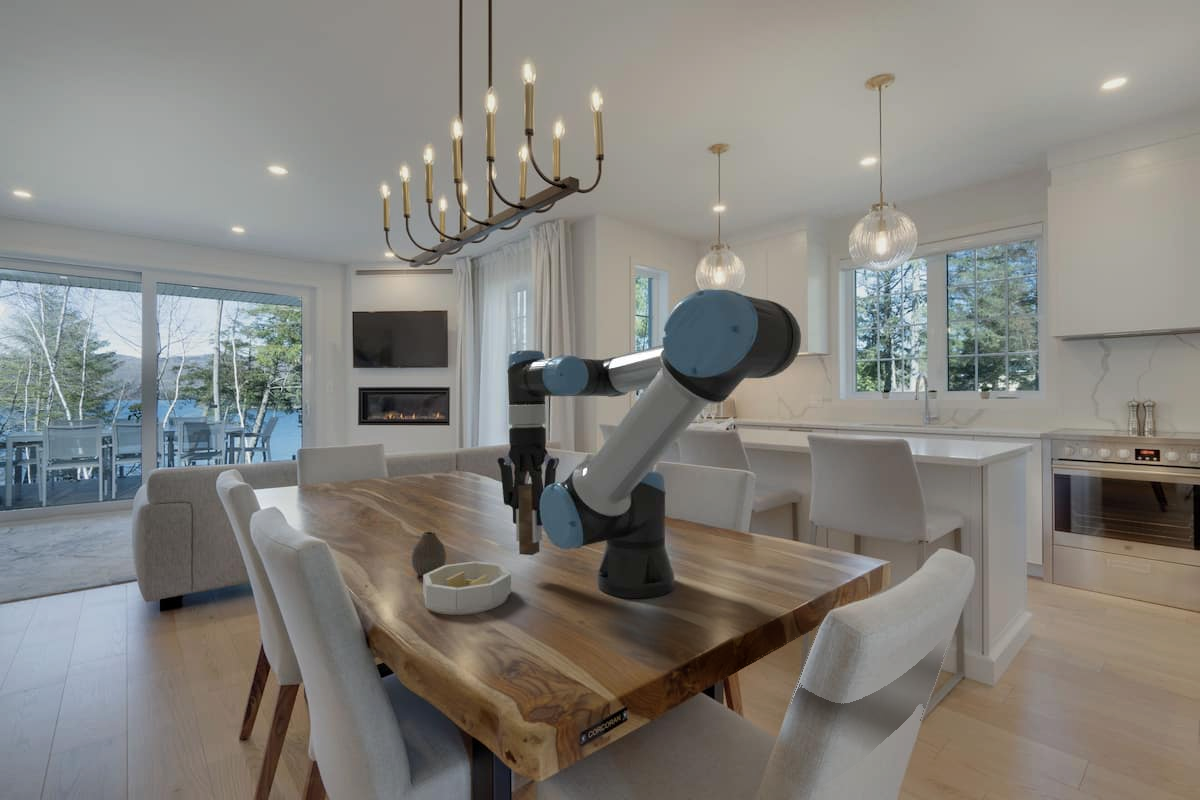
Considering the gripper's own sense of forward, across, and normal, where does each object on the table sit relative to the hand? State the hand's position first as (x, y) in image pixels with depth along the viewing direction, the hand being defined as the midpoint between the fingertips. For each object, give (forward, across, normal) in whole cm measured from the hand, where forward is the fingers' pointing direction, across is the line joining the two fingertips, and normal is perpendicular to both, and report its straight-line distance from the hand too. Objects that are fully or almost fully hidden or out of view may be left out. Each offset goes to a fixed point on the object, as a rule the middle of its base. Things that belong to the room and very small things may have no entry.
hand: (529, 540), depth 110 cm
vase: (+8, +22, +5) cm, 23 cm away
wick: (+3, 0, 0) cm, 3 cm away
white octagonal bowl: (+8, +6, +14) cm, 17 cm away
